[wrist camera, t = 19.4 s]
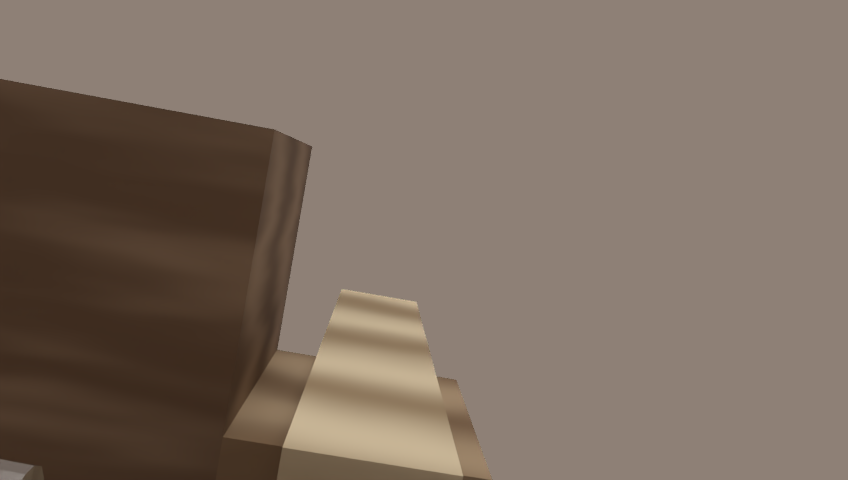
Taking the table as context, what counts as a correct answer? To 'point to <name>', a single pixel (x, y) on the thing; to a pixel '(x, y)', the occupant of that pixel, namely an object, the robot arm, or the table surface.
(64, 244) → the two step stand
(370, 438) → the maple bar
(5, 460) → the robot arm
